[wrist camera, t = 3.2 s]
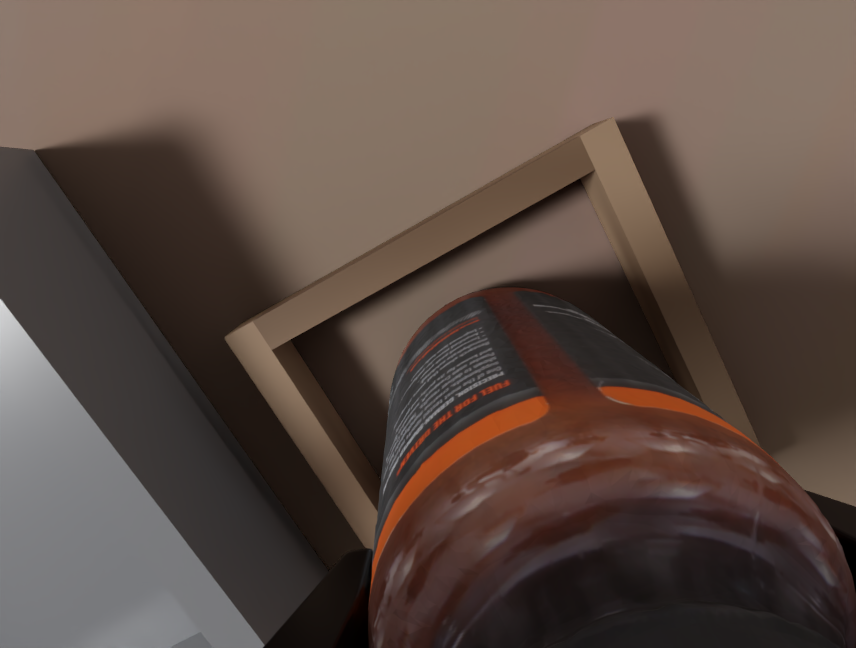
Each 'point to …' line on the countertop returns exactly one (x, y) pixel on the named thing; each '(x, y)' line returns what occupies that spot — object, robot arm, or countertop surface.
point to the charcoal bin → (119, 461)
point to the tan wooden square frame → (445, 230)
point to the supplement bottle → (583, 500)
